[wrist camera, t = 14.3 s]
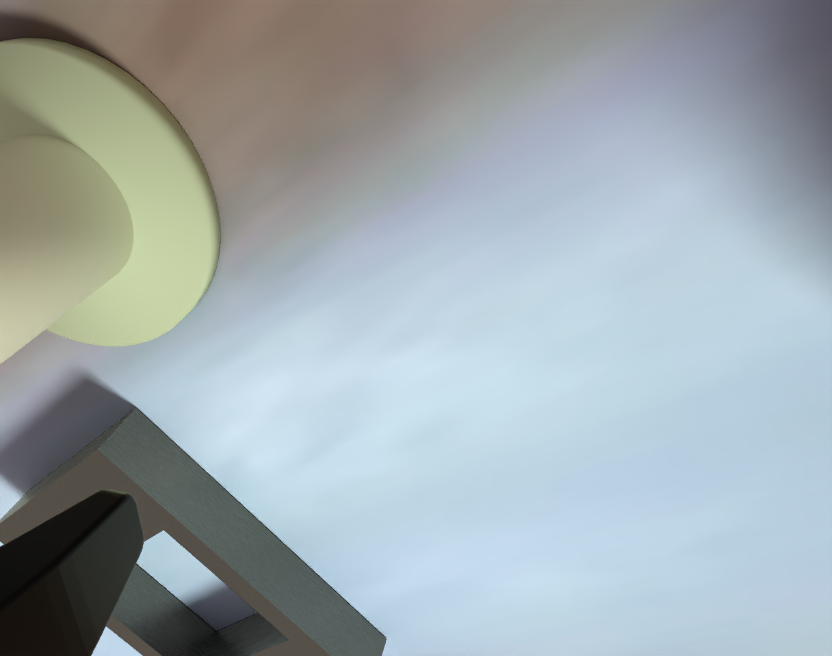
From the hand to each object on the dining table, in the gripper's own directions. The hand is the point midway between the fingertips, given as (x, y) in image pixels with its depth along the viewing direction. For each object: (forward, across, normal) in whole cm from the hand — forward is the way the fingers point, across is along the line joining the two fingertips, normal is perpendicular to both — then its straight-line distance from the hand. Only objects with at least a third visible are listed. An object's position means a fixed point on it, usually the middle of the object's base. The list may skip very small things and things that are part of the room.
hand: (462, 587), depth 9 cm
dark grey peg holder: (+13, +12, +19) cm, 26 cm away
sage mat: (+13, +15, +2) cm, 20 cm away
